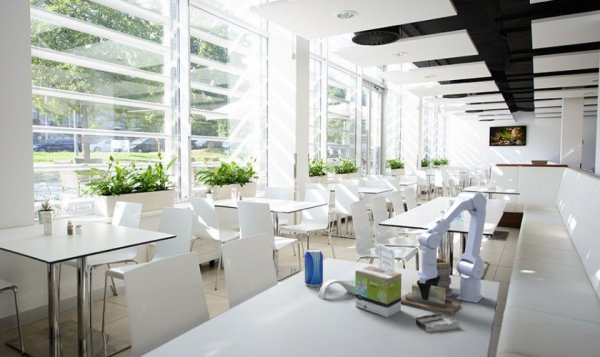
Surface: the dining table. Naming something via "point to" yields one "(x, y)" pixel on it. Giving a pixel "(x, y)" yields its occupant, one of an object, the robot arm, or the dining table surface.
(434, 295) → the pale wooden bar
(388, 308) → the tea box
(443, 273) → the tankard
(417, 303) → the walnut ledge
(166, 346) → the dining table surface
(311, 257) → the beer can
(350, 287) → the white curved piece
